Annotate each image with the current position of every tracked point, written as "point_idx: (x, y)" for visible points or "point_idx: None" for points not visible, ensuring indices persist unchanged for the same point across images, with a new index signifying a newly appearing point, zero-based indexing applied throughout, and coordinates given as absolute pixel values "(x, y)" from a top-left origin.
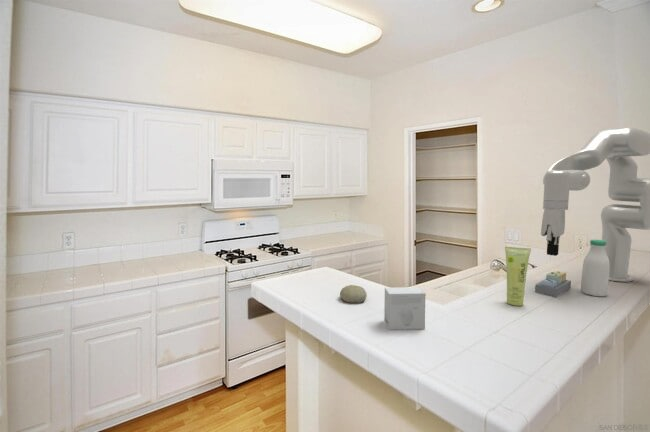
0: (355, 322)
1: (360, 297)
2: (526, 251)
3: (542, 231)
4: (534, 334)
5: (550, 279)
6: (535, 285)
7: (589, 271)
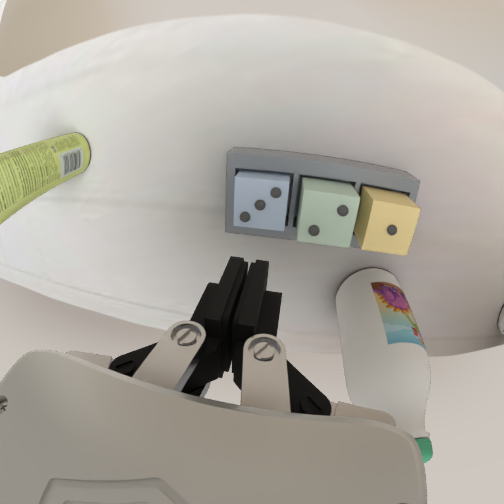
0: None
1: None
2: None
3: (4, 389)
4: (14, 237)
5: (300, 201)
6: (228, 152)
7: (348, 345)
